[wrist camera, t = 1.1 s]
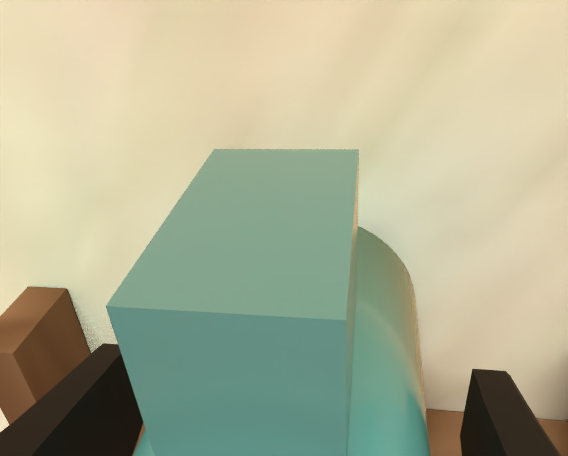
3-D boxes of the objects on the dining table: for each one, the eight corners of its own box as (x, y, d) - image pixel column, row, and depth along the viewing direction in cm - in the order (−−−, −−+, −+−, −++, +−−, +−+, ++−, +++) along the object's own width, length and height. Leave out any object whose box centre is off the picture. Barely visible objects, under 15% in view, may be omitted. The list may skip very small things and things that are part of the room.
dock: (661, 320, 12) (724, 409, 10) (603, 452, 14) (642, 545, 12) (28, 286, 14) (-32, 349, 12) (77, 402, 17) (34, 471, 15)
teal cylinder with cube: (445, 99, 10) (592, 499, 3) (414, 383, 14) (449, 810, 7) (174, 103, 11) (-161, 417, 4) (221, 368, 15) (97, 735, 8)
